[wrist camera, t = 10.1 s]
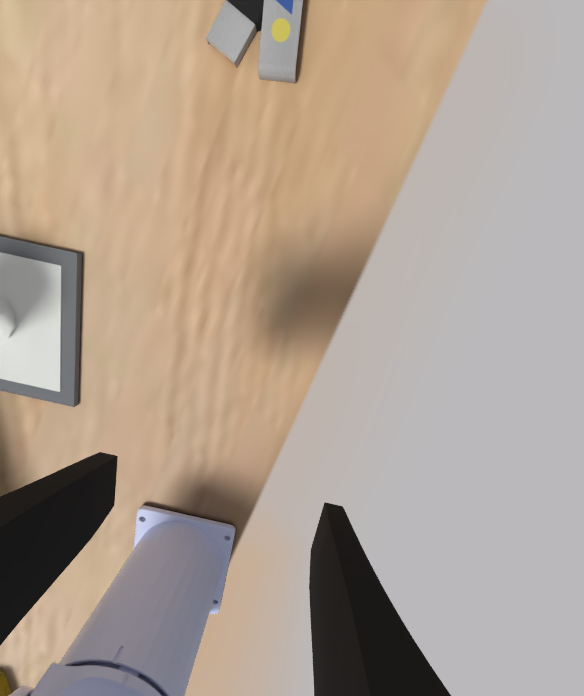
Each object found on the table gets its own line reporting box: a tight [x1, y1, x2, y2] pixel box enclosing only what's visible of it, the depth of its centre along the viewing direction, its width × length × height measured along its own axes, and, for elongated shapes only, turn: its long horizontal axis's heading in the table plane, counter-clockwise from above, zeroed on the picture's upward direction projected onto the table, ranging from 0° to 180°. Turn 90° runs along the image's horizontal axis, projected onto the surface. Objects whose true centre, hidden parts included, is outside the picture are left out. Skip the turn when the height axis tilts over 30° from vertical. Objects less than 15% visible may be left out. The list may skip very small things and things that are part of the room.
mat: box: [0, 236, 82, 407], centre depth 19 cm, size 11×11×1 cm
